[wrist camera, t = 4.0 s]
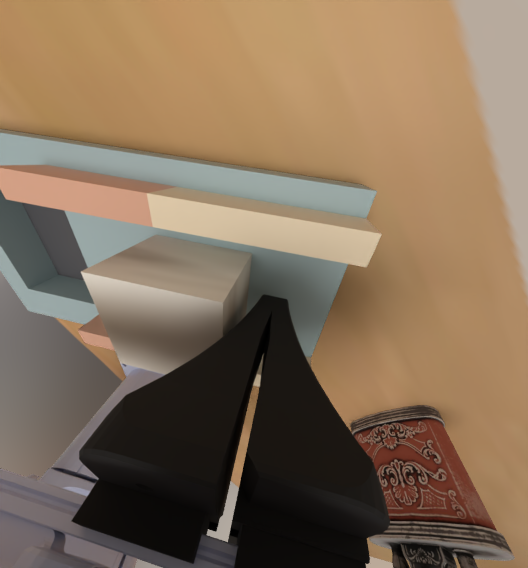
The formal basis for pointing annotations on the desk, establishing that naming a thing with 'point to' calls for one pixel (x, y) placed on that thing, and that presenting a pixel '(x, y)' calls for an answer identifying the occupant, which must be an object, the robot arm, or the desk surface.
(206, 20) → the desk surface
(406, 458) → the lighter
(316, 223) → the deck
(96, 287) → the block
